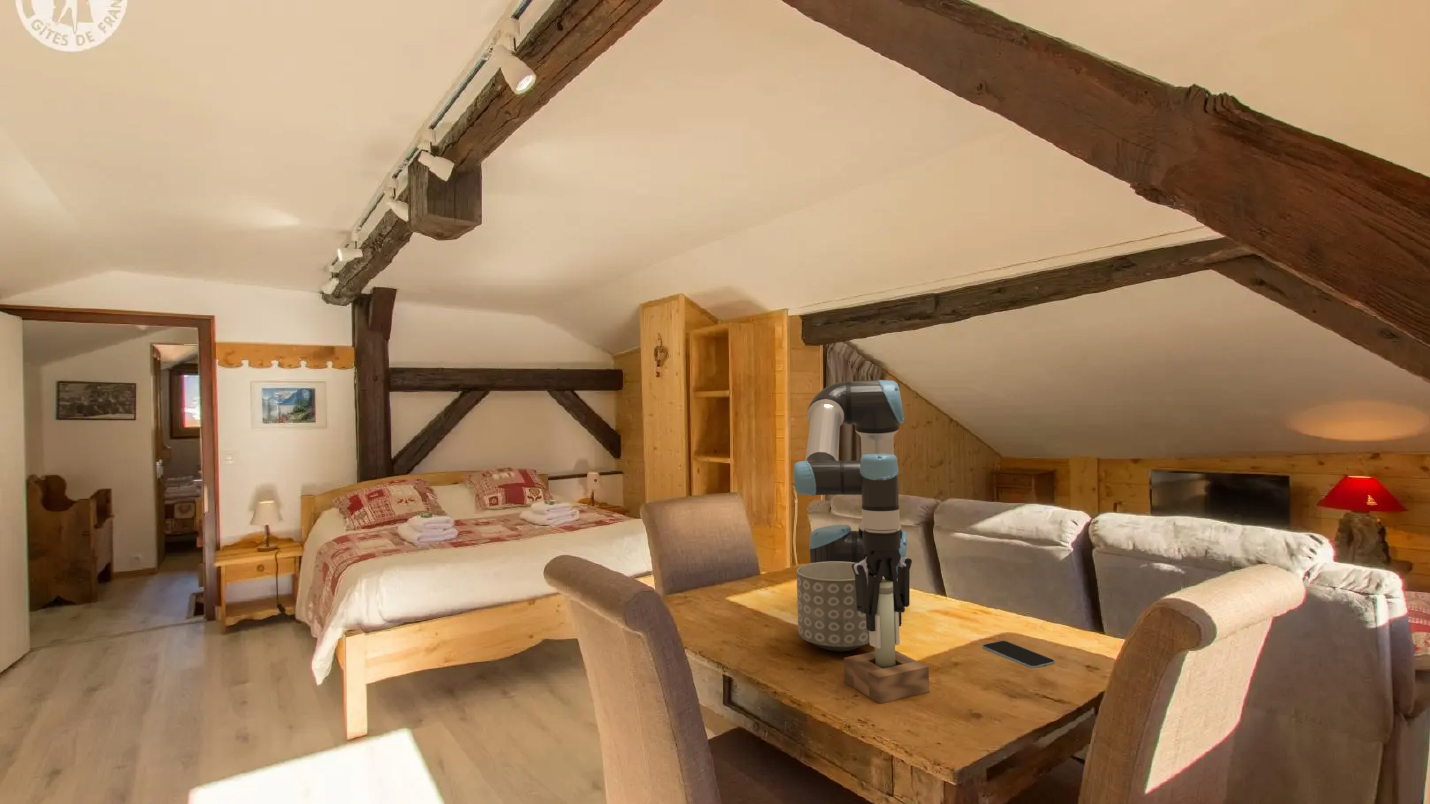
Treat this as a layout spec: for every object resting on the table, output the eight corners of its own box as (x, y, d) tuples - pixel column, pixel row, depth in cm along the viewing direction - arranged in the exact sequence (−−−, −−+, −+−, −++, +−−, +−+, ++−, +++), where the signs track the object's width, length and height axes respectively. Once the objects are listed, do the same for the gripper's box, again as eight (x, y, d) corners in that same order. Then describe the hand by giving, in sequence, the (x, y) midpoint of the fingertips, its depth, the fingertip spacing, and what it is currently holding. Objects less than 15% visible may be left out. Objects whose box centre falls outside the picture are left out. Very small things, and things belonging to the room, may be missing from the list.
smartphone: (1032, 666, 149) (980, 645, 162) (1032, 671, 149) (980, 649, 162) (1057, 660, 151) (1004, 639, 165) (1057, 665, 151) (1004, 643, 165)
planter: (830, 666, 154) (828, 584, 154) (783, 641, 170) (781, 567, 171) (896, 650, 162) (893, 572, 162) (845, 628, 179) (843, 558, 179)
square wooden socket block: (891, 671, 149) (890, 648, 149) (929, 691, 138) (928, 666, 138) (844, 681, 145) (843, 657, 145) (879, 703, 134) (878, 677, 134)
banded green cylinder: (887, 664, 144) (884, 577, 144) (900, 671, 140) (897, 582, 140) (871, 668, 142) (868, 580, 143) (883, 674, 139) (880, 584, 139)
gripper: (902, 523, 149) (906, 632, 148) (835, 530, 142) (839, 645, 141) (926, 528, 142) (930, 643, 141) (856, 536, 135) (860, 657, 135)
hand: (884, 644), depth 141 cm, fingers closed on banded green cylinder, 4 cm apart
